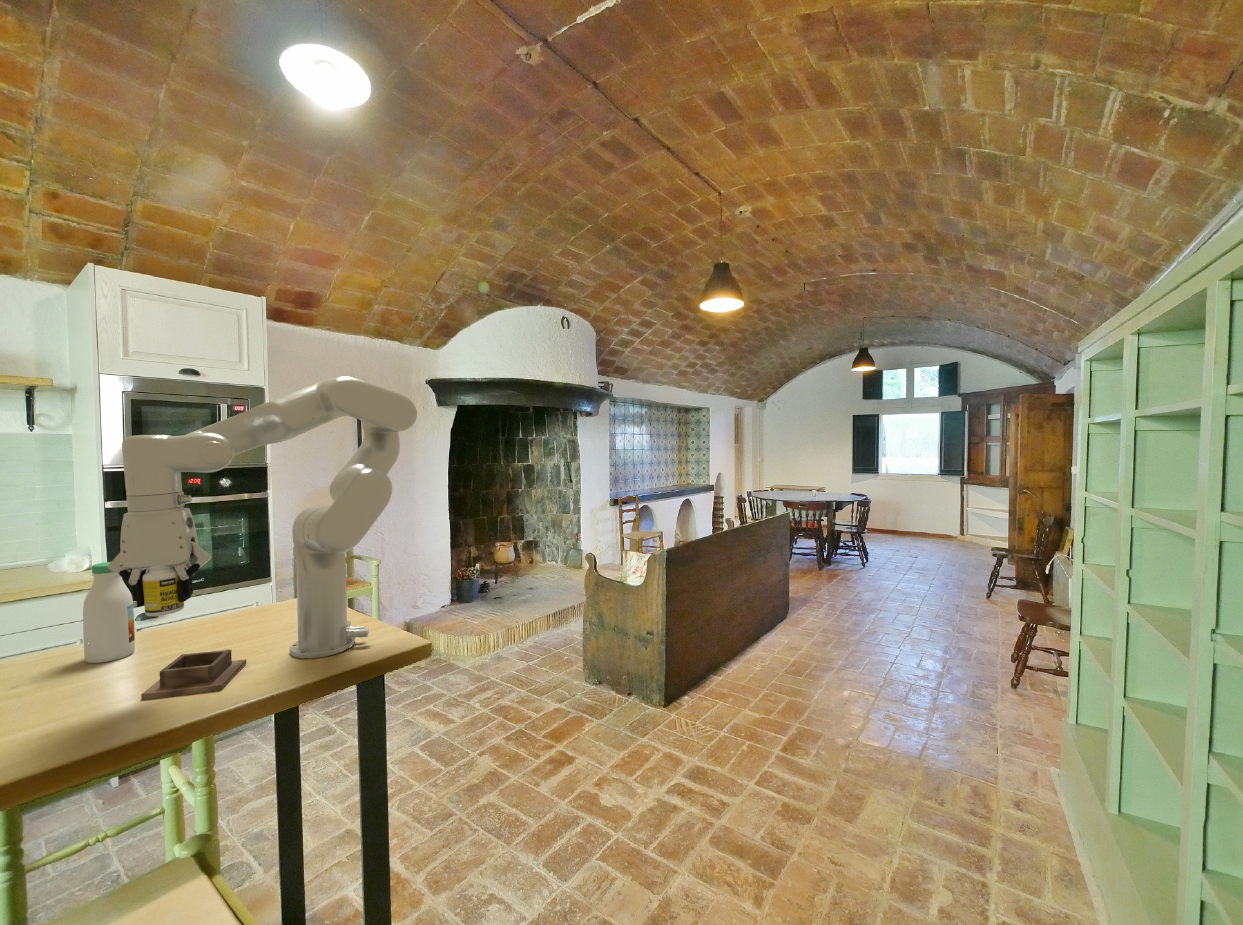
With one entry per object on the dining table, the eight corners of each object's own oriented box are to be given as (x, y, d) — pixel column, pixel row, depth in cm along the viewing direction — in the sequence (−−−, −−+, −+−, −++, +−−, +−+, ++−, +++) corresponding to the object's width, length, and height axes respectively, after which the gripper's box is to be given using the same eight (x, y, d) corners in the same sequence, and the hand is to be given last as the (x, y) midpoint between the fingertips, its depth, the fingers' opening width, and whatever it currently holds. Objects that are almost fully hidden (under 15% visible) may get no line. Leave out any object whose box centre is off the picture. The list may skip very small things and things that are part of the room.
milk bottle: (121, 661, 109) (118, 566, 108) (74, 666, 107) (70, 568, 106) (143, 648, 116) (140, 558, 116) (100, 651, 114) (96, 560, 113)
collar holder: (246, 664, 108) (245, 645, 108) (221, 690, 96) (221, 669, 96) (175, 671, 104) (175, 651, 104) (141, 699, 93) (140, 677, 93)
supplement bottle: (161, 618, 93) (157, 563, 92) (137, 616, 94) (132, 562, 93) (192, 607, 98) (188, 555, 97) (168, 606, 99) (164, 555, 98)
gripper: (221, 497, 101) (228, 590, 102) (109, 504, 95) (118, 601, 97) (203, 502, 93) (211, 602, 95) (81, 510, 88) (92, 615, 90)
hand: (164, 601), depth 96 cm, fingers closed on supplement bottle, 5 cm apart
